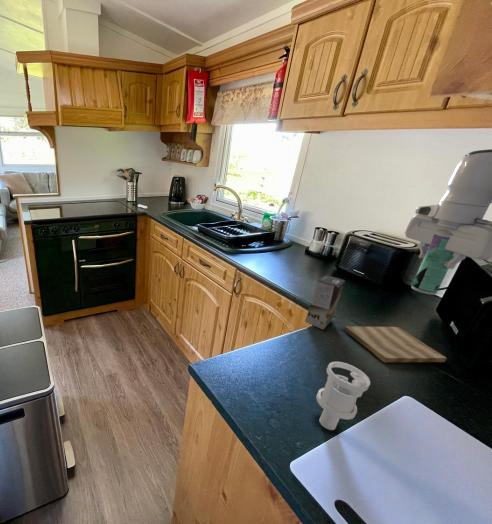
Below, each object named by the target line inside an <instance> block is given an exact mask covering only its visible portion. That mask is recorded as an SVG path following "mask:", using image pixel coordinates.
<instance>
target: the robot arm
mask: <svg viewBox="0 0 492 524" xmlns="http://www.w3.org/2000/svg"><path fill="white" fill-rule="evenodd" d="M490 205H492V148H490V149H479V150H474V151H470V152H467V153H466V154H465V155H463V157H461V159H460V161H459V162H458V163H457V166H456V167H455V169H454V171H453V172H452V174H451V177H450V178H449V181H448V183H447V189H446V192H445V194H444V195H443V196H441V198H440V201H439V203H438V204H432V205H423V206H421V205H420V206H417V207H416V209H415V212H414V213H415V214H414V215H413V216H412V217H411V219H410V220H409V222H408V224H407V227H406V229H405V231H404V234H405V238H407V239H410V240H413V241H417V242H419V245H418V247H419V252H420V253H419V255H418V258H419V259H422V260H423V259H424V257H425V255H426V252H427V250H428V248H429V246H430V244H431V242H432V239H433V237H434V235H435V233H436V232H437V230H441V229H445V230H448V231H450V232H451V233H452V234H453V235H450V238H449V240H448V242H447V244H446V246H445V249H446V250H448V251H452V252H454V254H453V256H454V258H453V259H452V260H450V261H445V262H444V264H443V267H446V268H448V270H453V269H455V267H456V266H457V264H458V263H460V262H462V261H464V260H465V259H466V258H467V257H468V258H471V259H474V260H482V261H487V260H491V259H492V220H487V219H484V217H485V215H486V213H487V211H488V210H489V207H490Z"/></svg>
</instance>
